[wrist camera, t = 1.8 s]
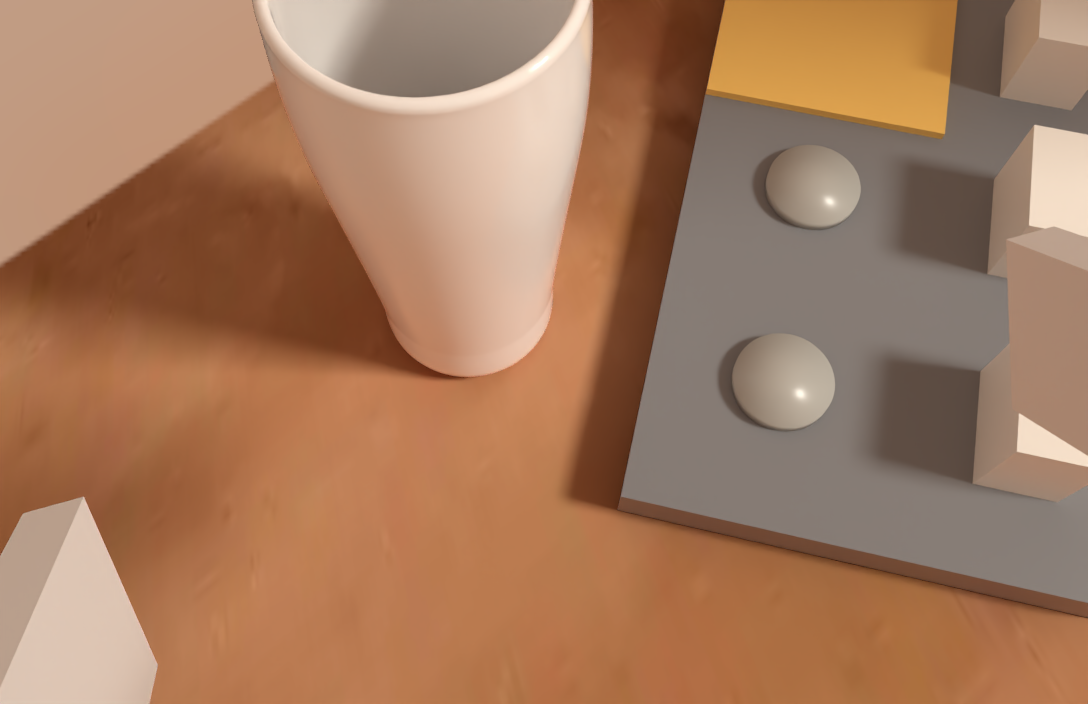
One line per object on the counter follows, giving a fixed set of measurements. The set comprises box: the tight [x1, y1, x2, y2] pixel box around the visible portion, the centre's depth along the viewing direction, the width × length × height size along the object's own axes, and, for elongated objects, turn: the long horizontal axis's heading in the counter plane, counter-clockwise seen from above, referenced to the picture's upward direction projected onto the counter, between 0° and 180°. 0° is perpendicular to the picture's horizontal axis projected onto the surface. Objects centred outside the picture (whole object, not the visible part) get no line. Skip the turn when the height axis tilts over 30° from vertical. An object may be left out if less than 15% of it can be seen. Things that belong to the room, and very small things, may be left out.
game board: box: [617, 0, 1088, 618], centre depth 33 cm, size 14×23×4 cm, turn 167°
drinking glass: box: [252, 0, 593, 377], centre depth 27 cm, size 7×7×15 cm
